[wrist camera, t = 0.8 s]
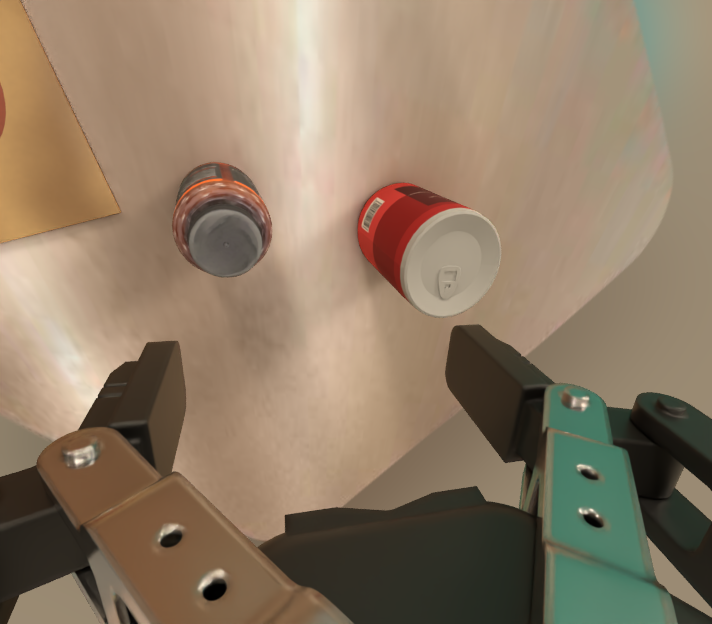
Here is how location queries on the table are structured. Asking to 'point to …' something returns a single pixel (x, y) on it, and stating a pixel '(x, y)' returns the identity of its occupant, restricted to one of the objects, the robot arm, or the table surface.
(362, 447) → the table surface
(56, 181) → the placemat
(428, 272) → the canned food
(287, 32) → the table surface
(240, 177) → the supplement bottle
